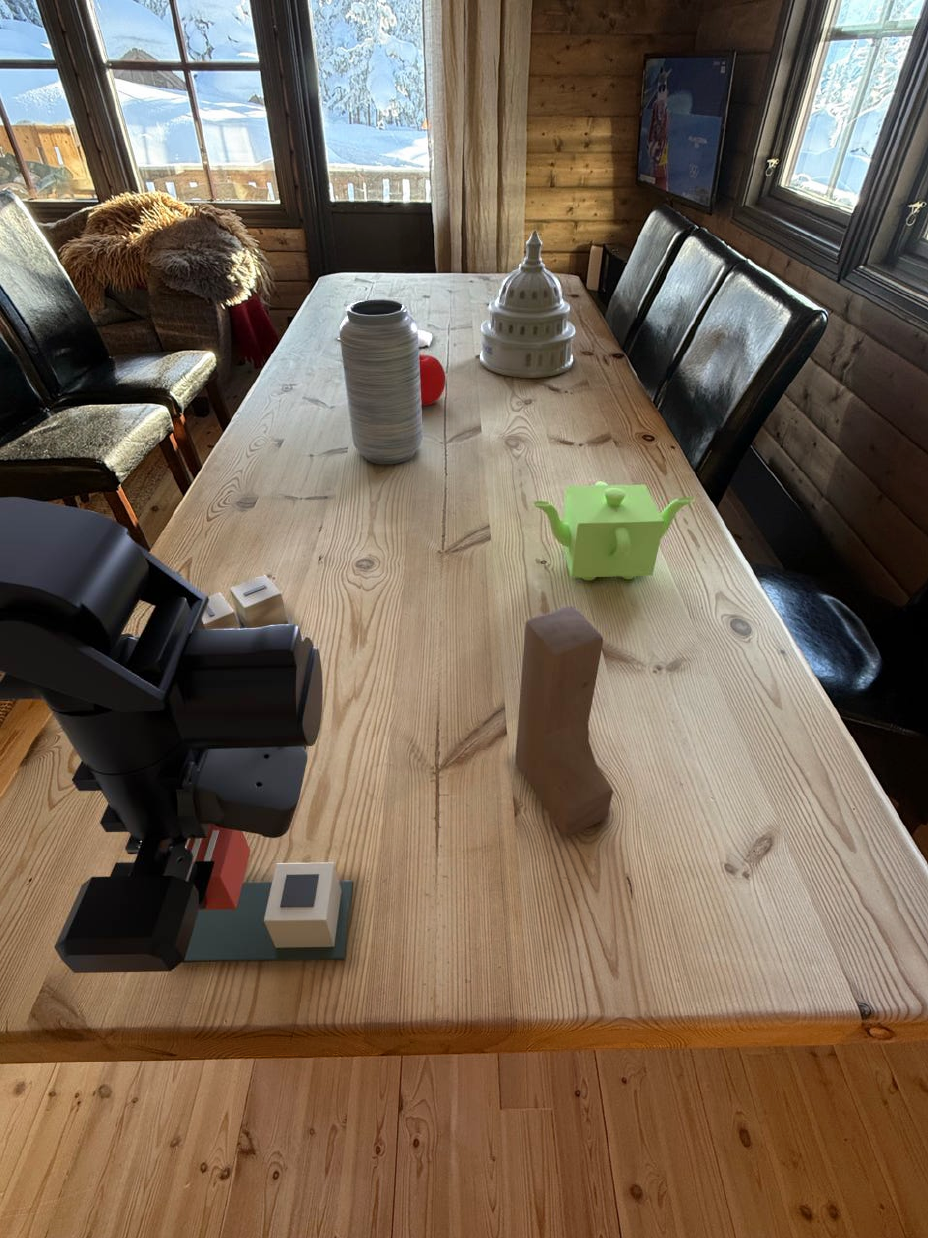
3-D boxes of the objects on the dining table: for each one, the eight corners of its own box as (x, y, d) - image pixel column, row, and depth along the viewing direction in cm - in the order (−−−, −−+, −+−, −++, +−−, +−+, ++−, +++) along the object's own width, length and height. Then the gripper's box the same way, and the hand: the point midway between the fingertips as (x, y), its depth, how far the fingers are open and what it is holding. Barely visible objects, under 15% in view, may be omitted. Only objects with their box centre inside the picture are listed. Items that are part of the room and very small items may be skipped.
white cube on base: (182, 963, 49) (162, 933, 46) (205, 885, 53) (188, 853, 50) (344, 960, 49) (335, 931, 46) (353, 883, 53) (346, 851, 50)
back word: (156, 687, 70) (141, 654, 67) (139, 656, 74) (124, 623, 70) (294, 627, 77) (286, 594, 74) (272, 601, 81) (264, 569, 78)
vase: (340, 451, 111) (321, 306, 96) (396, 431, 117) (385, 291, 102) (381, 476, 104) (366, 324, 89) (437, 454, 110) (432, 307, 95)
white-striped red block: (172, 910, 45) (151, 878, 42) (191, 852, 49) (173, 818, 46) (236, 909, 45) (220, 877, 42) (251, 851, 49) (237, 817, 46)
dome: (500, 216, 136) (596, 223, 131) (496, 341, 153) (582, 351, 147) (465, 236, 122) (572, 244, 117) (466, 371, 138) (559, 384, 133)
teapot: (526, 565, 86) (531, 494, 79) (579, 522, 94) (588, 453, 87) (631, 612, 79) (647, 537, 72) (679, 560, 87) (698, 489, 80)
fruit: (410, 389, 131) (407, 337, 125) (452, 396, 129) (451, 343, 122) (390, 407, 125) (385, 353, 118) (433, 414, 122) (432, 360, 116)
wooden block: (608, 820, 58) (643, 676, 46) (564, 840, 56) (589, 697, 44) (553, 746, 64) (573, 602, 52) (513, 762, 62) (523, 618, 51)
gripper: (240, 894, 29) (299, 1020, 39) (309, 619, 43) (340, 764, 54) (-12, 897, 29) (113, 1023, 39) (140, 621, 43) (202, 766, 53)
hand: (208, 874), depth 46 cm, fingers closed on white-striped red block, 4 cm apart
